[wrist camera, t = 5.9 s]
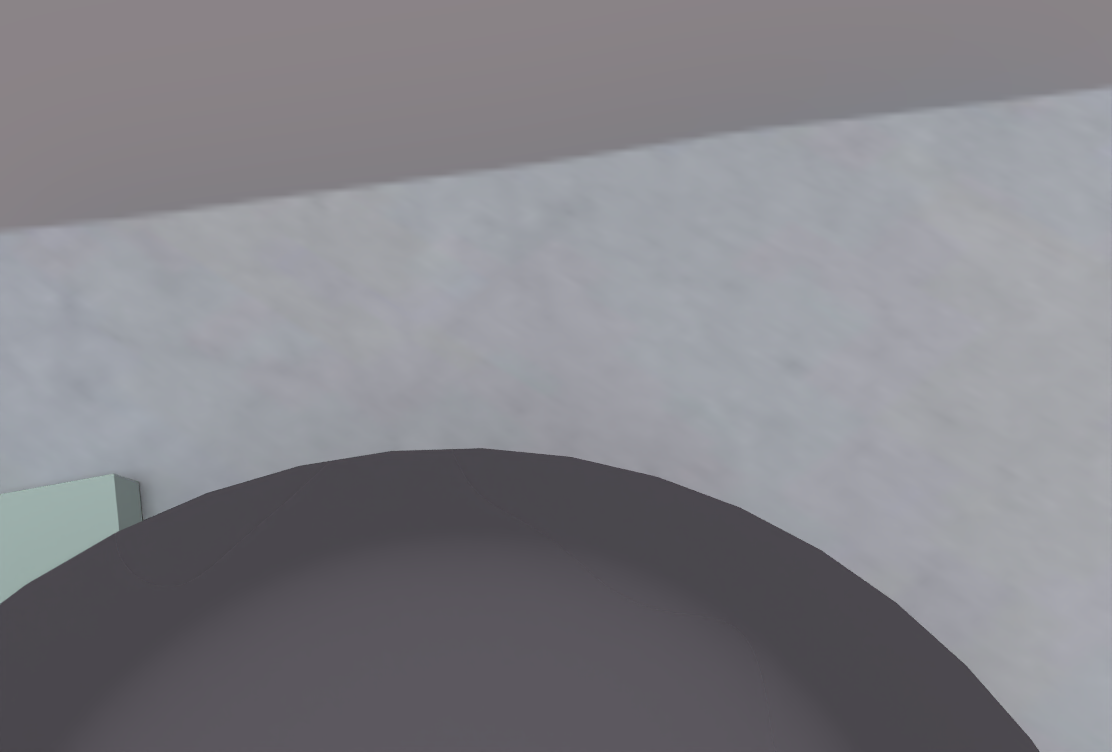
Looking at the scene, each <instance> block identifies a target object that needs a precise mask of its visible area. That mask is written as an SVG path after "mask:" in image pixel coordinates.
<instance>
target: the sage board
mask: <svg viewBox="0 0 1112 752" xmlns="http://www.w3.org/2000/svg"><path fill="white" fill-rule="evenodd" d="M141 521H142V511H141V501H140V491H139V482H137V481H134V480H131V479H128V478H125V477H122V476H119V475H116V474H110V475H104V476H99V477H93V478H88V479H82V480H76V481H71V482H65V483H60V484H54V485H49V486H43V487H38V488H32V489H26V490H21V491H15V492H10V493H4V494H0V603H2V602H3V601H4V600H6V599H7V598H9V597H10V596H11V595H13V594H14V593H15V592H17V591H18V590H19V589H21V588H22V587H23V586H25V585H26V584H28V583H29V582H31V581H33V580H35V579H36V578H38V577H40V576H41V575H43V574H45V573H47V572H48V571H50V570H52V569H54V568H55V567H57V566H59V565H60V564H62V563H64V562H66V561H67V560H69V559H71V558H73V557H74V556H76V555H78V554H79V553H81V552H83V551H85V550H86V549H88V548H90V547H92V546H93V545H95V544H97V543H98V542H100V541H102V540H104V539H105V538H107V537H109V536H111V535H112V534H114V533H116V532H118V531H120V530H123V529H125V528H127V527H130V526H132V525H134V524H137V523H139V522H141Z"/></svg>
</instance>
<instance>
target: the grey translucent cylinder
mask: <svg viewBox="0 0 1112 752" xmlns="http://www.w3.org/2000/svg"><path fill="white" fill-rule="evenodd" d="M0 752H1039V750H1038V749H1037V747H1036V746H1035V744H1034V743H1033V742H1032V740H1031V739H1030V738H1029V736H1028V735H1027V734H1026V733H1025V732H1024V731H1023V730H1022V729H1021V727H1020V726H1019V725H1018V724H1017V723H1016V722H1015V721H1014V719H1013V718H1012V717H1011V716H1010V715H1009V714H1008V713H1007V711H1006V710H1005V709H1004V708H1003V707H1002V706H1001V705H1000V704H999V702H998V701H997V700H996V699H995V698H994V697H993V696H992V694H991V693H990V692H989V691H988V690H987V689H986V688H985V686H984V685H983V684H982V683H981V682H980V681H979V680H978V679H977V677H976V676H975V675H974V674H973V673H972V672H971V671H970V669H969V668H968V667H967V666H966V665H965V664H964V663H963V662H962V661H960V660H959V659H958V658H957V657H956V656H955V655H954V654H953V653H952V652H950V651H949V650H948V649H947V648H946V647H945V646H944V645H943V644H941V643H940V642H939V641H938V640H937V639H936V638H935V637H934V636H933V635H931V634H930V633H929V632H928V631H927V630H926V629H925V628H924V627H923V626H921V625H920V624H919V623H918V622H917V621H916V620H915V619H914V618H912V617H911V616H910V615H909V614H908V613H907V612H906V611H905V610H904V609H902V608H901V607H900V606H899V605H898V604H897V603H896V602H894V601H893V600H891V599H890V598H889V597H887V596H886V595H884V594H883V593H881V592H880V591H879V590H877V589H876V588H874V587H873V586H871V585H870V584H869V583H867V582H866V581H864V580H863V579H861V578H860V577H858V576H857V575H856V574H854V573H853V572H851V571H850V570H848V569H847V568H846V567H844V566H843V565H841V564H840V563H838V562H837V561H836V560H834V559H833V558H831V557H830V556H828V555H827V554H826V553H824V552H823V551H821V550H820V549H818V548H816V547H814V546H812V545H810V544H808V543H806V542H804V541H802V540H801V539H799V538H797V537H795V536H793V535H791V534H789V533H787V532H785V531H783V530H782V529H780V528H778V527H776V526H774V525H772V524H770V523H768V522H766V521H764V520H763V519H761V518H759V517H757V516H755V515H753V514H751V513H749V512H747V511H745V510H743V509H742V508H739V507H737V506H734V505H731V504H729V503H726V502H723V501H720V500H718V499H715V498H712V497H710V496H707V495H704V494H702V493H699V492H696V491H694V490H691V489H688V488H686V487H683V486H680V485H677V484H675V483H672V482H669V481H667V480H664V479H661V478H659V477H655V476H651V475H647V474H642V473H638V472H634V471H629V470H625V469H621V468H616V467H612V466H608V465H603V464H599V463H595V462H590V461H586V460H582V459H577V458H573V457H566V456H555V455H545V454H535V453H525V452H514V451H504V450H494V449H483V448H477V449H446V450H415V451H390V452H384V453H377V454H371V455H365V456H359V457H352V458H346V459H340V460H334V461H328V462H321V463H315V464H309V465H303V466H298V467H294V468H291V469H288V470H284V471H281V472H277V473H274V474H271V475H267V476H264V477H260V478H257V479H253V480H250V481H247V482H243V483H240V484H236V485H233V486H230V487H226V488H223V489H219V490H216V491H212V492H209V493H206V494H204V495H202V496H199V497H197V498H195V499H192V500H190V501H188V502H185V503H183V504H181V505H178V506H176V507H174V508H171V509H169V510H167V511H164V512H162V513H160V514H157V515H155V516H153V517H150V518H148V519H146V520H144V521H141V522H139V523H137V524H134V525H132V526H130V527H127V528H125V529H123V530H120V531H118V532H116V533H114V534H112V535H111V536H109V537H107V538H105V539H104V540H102V541H100V542H98V543H97V544H95V545H93V546H92V547H90V548H88V549H86V550H85V551H83V552H81V553H79V554H78V555H76V556H74V557H73V558H71V559H69V560H67V561H66V562H64V563H62V564H60V565H59V566H57V567H55V568H54V569H52V570H50V571H48V572H47V573H45V574H43V575H41V576H40V577H38V578H36V579H35V580H33V581H31V582H29V583H28V584H26V585H25V586H23V587H22V588H21V589H19V590H18V591H17V592H15V593H14V594H13V595H11V596H10V597H9V598H7V599H6V600H4V601H3V602H2V603H0Z"/></svg>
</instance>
